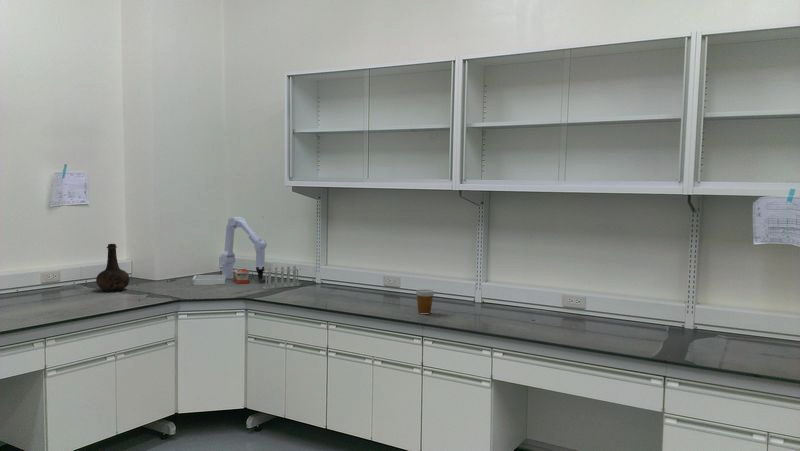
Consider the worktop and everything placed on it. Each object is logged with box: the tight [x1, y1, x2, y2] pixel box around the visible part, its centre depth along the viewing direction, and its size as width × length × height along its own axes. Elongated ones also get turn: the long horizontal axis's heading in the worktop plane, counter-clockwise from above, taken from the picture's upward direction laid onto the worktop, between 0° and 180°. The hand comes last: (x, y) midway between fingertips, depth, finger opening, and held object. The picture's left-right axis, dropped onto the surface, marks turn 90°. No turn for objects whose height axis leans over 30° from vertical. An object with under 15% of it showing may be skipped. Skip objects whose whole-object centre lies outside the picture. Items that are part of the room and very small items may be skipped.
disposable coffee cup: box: [415, 289, 435, 314], centre depth 307 cm, size 10×10×12 cm
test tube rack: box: [262, 265, 302, 290], centre depth 376 cm, size 25×4×13 cm, turn 129°
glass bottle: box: [95, 243, 131, 292], centre depth 349 cm, size 18×18×28 cm
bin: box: [191, 274, 226, 286], centre depth 385 cm, size 18×20×4 cm
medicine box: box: [233, 268, 250, 285], centre depth 391 cm, size 15×8×8 cm, turn 24°
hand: (260, 278), depth 394 cm, fingers open, 7 cm apart
